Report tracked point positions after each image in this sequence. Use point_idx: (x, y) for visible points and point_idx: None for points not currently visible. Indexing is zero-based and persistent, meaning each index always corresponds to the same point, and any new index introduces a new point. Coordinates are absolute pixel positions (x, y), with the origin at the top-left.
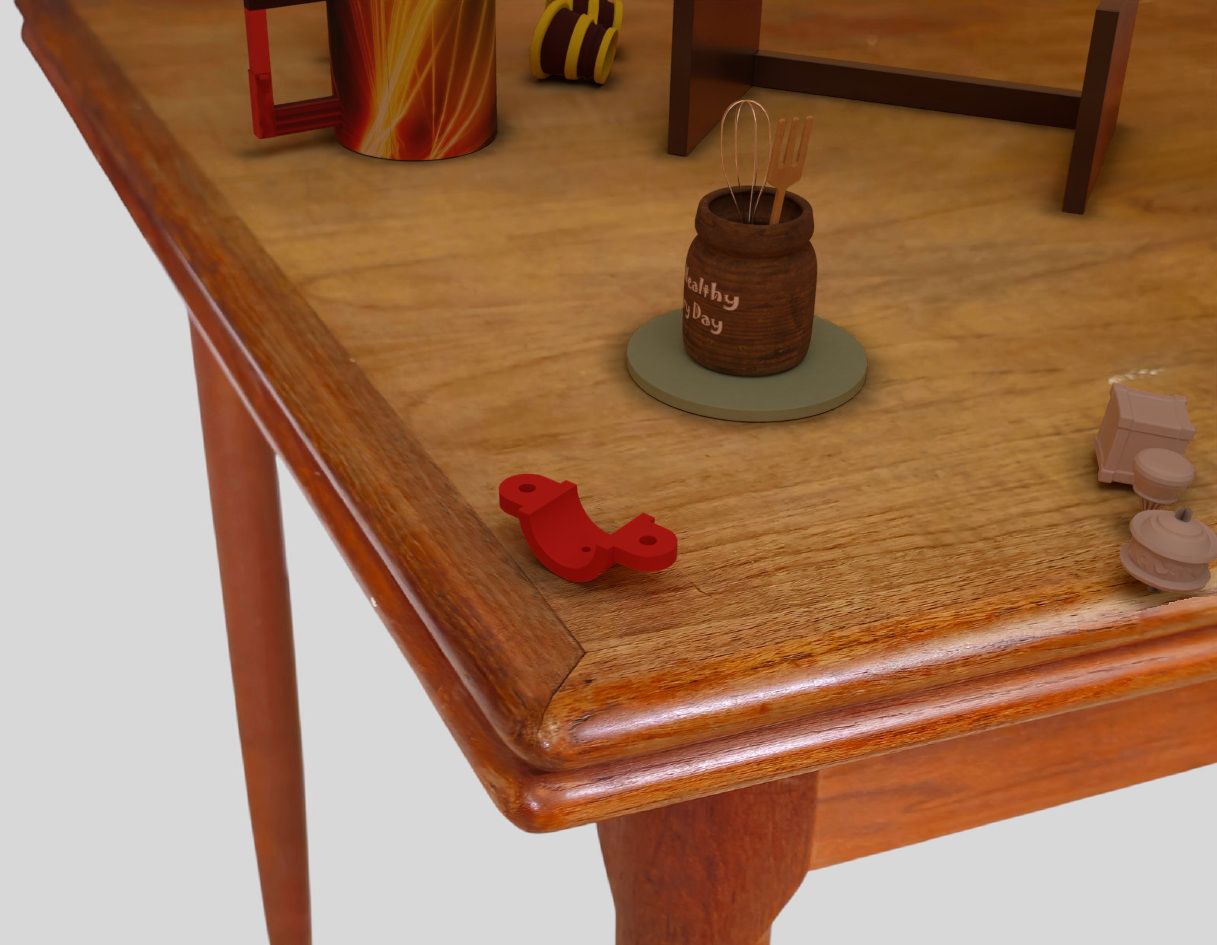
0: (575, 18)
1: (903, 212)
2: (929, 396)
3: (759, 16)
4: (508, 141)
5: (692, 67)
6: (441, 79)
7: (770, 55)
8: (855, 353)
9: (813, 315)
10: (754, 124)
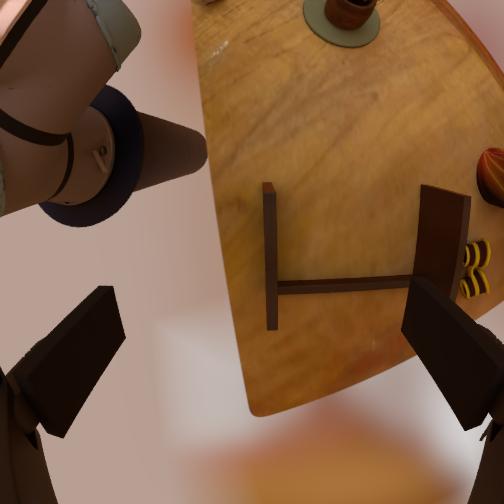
0: (480, 256)
1: (332, 155)
2: (281, 12)
3: None
4: (472, 177)
5: (438, 191)
6: (500, 155)
7: None
8: (311, 21)
9: (326, 8)
10: (375, 2)
